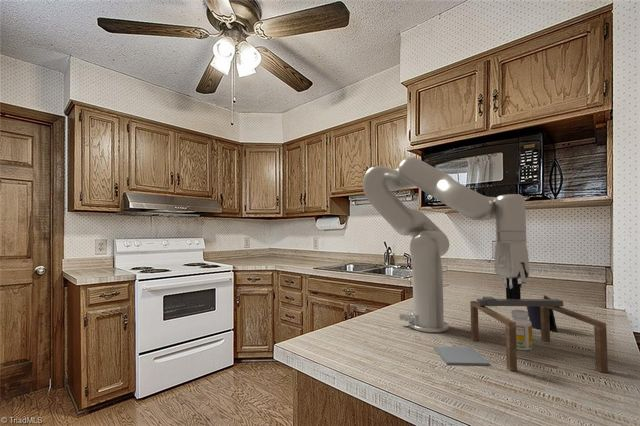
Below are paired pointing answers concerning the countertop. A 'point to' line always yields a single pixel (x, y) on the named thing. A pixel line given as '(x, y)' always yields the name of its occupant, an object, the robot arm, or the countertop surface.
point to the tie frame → (542, 333)
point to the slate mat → (460, 356)
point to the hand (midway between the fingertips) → (513, 301)
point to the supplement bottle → (522, 329)
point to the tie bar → (518, 302)
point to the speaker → (536, 317)
